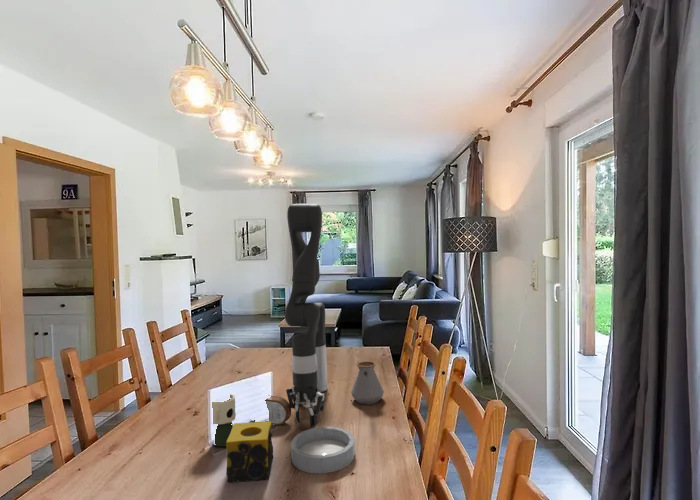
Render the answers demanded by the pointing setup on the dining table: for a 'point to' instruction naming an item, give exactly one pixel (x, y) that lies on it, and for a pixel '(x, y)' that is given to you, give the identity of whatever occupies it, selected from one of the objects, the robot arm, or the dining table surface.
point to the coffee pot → (367, 384)
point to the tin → (278, 410)
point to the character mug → (223, 419)
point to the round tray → (322, 449)
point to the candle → (249, 452)
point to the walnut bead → (304, 418)
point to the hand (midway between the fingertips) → (306, 424)
